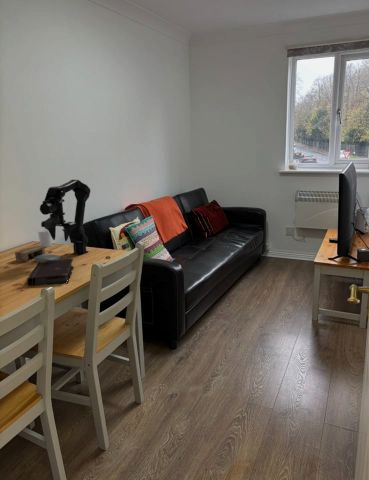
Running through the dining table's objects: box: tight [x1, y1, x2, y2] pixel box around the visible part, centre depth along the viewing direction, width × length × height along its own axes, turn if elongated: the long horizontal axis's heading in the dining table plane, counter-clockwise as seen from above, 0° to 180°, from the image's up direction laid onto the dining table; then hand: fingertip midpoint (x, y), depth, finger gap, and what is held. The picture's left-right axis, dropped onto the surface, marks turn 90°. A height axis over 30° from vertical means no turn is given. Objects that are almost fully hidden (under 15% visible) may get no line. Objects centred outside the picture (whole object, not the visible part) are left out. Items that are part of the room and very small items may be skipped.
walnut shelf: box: [14, 244, 46, 263], centre depth 219 cm, size 7×15×5 cm, turn 158°
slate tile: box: [33, 253, 63, 263], centre depth 215 cm, size 12×8×2 cm, turn 67°
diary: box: [26, 258, 75, 287], centre depth 190 cm, size 19×25×5 cm
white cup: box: [37, 228, 53, 248], centre depth 244 cm, size 8×8×10 cm
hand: (60, 240), depth 209 cm, fingers open, 8 cm apart
